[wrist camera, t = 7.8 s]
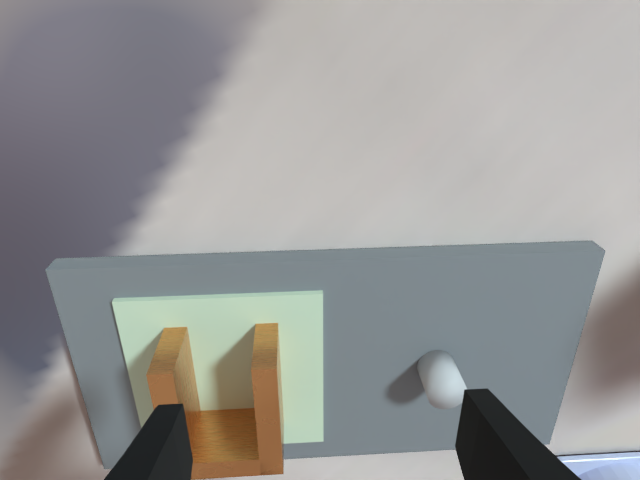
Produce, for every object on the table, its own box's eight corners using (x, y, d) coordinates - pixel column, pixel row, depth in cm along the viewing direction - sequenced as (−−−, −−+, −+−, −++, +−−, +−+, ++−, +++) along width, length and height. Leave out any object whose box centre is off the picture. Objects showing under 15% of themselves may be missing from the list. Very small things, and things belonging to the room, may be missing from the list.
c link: (283, 421, 24) (283, 474, 21) (182, 426, 24) (169, 480, 21) (278, 322, 21) (276, 368, 18) (164, 327, 21) (146, 374, 18)
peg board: (540, 429, 27) (568, 476, 24) (110, 453, 26) (90, 505, 23) (592, 240, 22) (635, 273, 19) (56, 258, 21) (20, 296, 18)
